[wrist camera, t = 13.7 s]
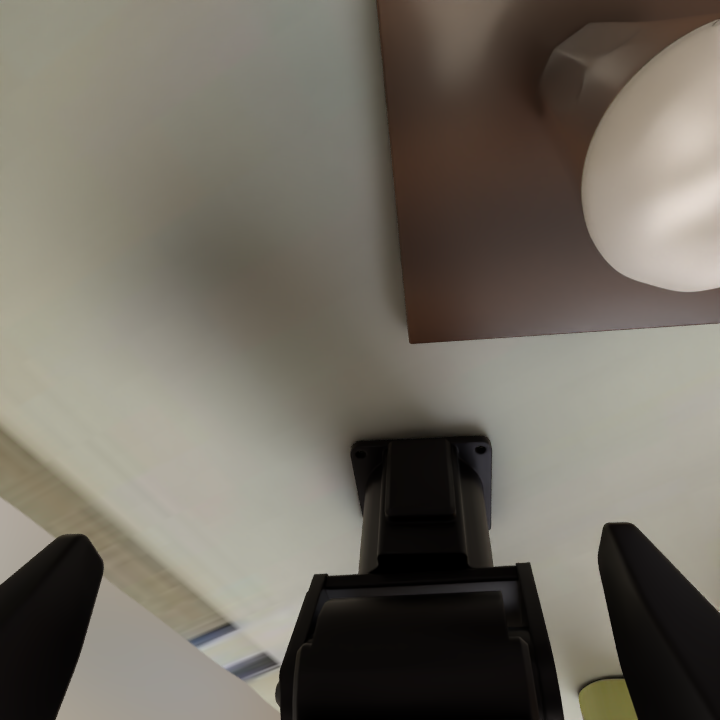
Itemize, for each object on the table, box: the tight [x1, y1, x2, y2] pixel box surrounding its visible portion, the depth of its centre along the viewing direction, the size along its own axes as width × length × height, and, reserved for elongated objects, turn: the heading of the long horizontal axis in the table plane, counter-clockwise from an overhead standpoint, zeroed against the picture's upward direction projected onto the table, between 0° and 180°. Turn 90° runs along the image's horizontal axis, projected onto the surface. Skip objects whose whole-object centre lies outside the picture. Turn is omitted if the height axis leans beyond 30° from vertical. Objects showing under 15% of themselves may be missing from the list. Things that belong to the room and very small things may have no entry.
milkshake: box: [536, 13, 720, 292], centre depth 11 cm, size 4×5×10 cm
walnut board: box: [376, 0, 720, 344], centre depth 16 cm, size 18×12×1 cm, turn 8°
